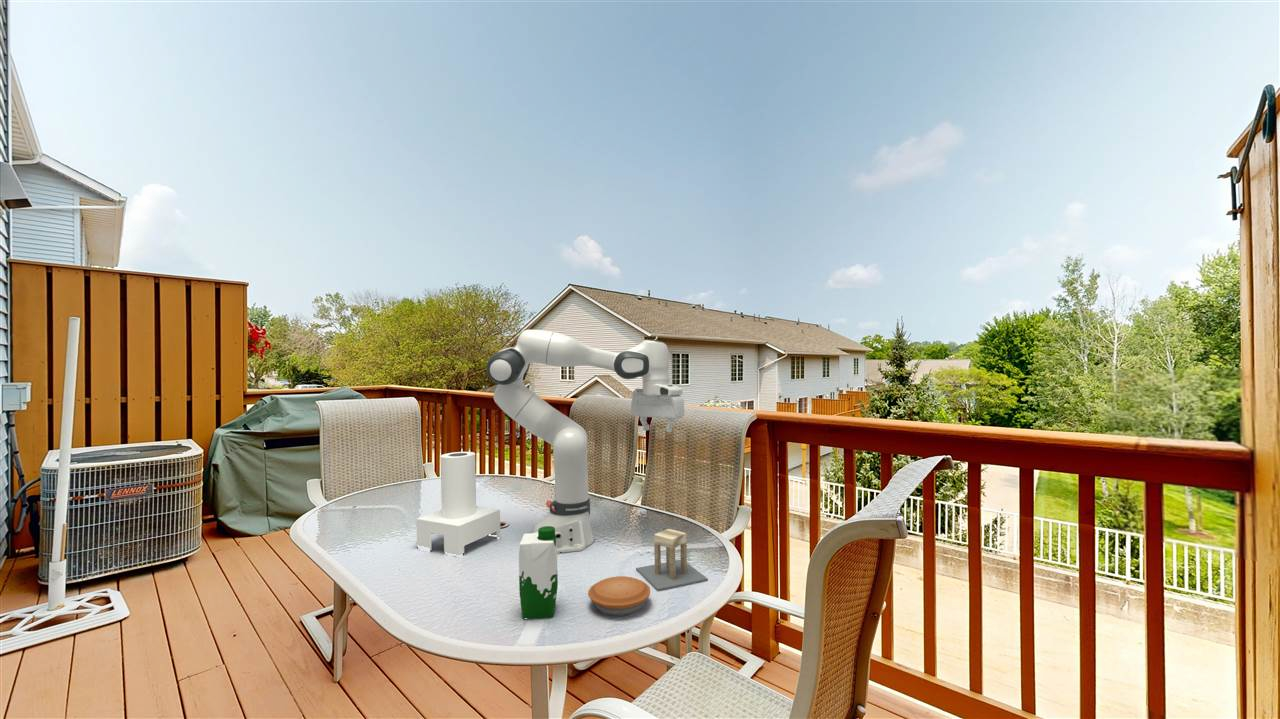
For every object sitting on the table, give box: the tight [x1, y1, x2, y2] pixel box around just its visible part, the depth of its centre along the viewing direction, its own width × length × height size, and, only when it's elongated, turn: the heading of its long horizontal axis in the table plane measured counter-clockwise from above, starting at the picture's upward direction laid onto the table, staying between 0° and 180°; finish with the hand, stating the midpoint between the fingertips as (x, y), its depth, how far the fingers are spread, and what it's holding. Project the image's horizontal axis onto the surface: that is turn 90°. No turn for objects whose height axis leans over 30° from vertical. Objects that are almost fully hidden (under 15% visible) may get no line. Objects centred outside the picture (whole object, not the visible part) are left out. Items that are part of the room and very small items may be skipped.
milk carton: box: [518, 526, 559, 619], centre depth 124 cm, size 9×9×20 cm
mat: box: [635, 559, 709, 592], centre depth 144 cm, size 15×15×1 cm
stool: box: [653, 528, 688, 580], centre depth 144 cm, size 6×6×11 cm
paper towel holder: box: [416, 451, 502, 555], centre depth 172 cm, size 19×19×30 cm
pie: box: [587, 575, 651, 617], centre depth 127 cm, size 15×16×5 cm
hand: (657, 431), depth 168 cm, fingers open, 8 cm apart
